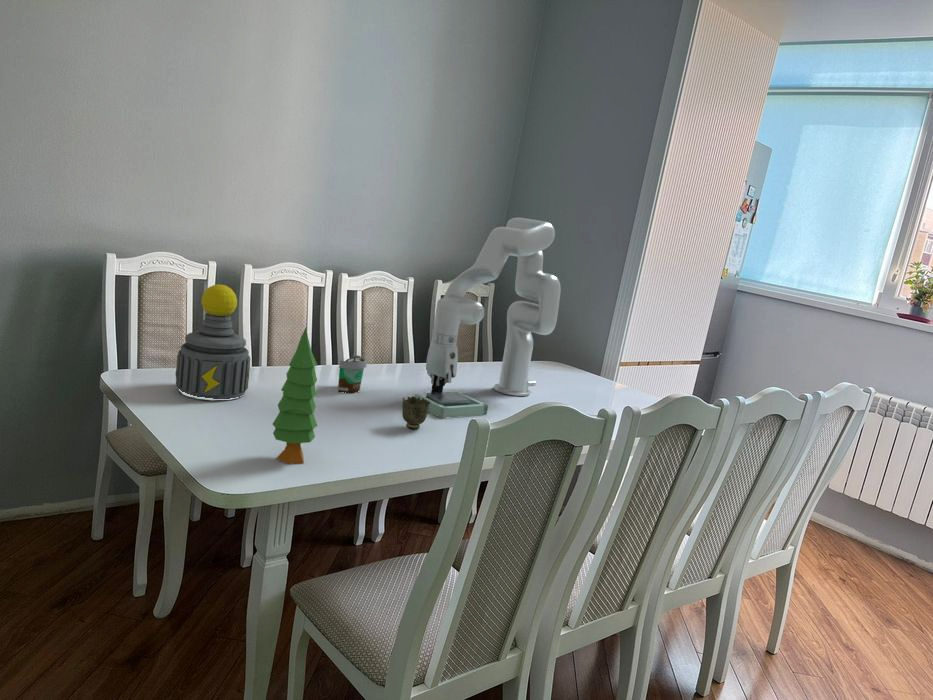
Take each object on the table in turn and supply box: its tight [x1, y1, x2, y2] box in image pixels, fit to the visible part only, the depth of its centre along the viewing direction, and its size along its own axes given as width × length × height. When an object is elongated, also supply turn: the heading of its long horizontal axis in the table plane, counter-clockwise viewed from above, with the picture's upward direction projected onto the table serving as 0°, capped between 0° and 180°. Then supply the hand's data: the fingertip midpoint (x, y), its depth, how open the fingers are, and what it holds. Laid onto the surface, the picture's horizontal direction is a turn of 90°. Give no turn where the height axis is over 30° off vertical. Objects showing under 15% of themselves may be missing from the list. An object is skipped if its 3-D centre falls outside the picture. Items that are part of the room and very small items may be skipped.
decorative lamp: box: [175, 284, 251, 399], centre depth 199 cm, size 19×19×30 cm
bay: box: [413, 391, 489, 419], centre depth 221 cm, size 17×14×3 cm
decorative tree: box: [272, 327, 318, 465], centre depth 160 cm, size 10×9×30 cm
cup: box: [401, 395, 430, 431], centre depth 196 cm, size 8×7×8 cm
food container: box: [337, 354, 368, 394], centre depth 225 cm, size 12×6×10 cm, turn 168°
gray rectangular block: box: [425, 391, 470, 407], centre depth 220 cm, size 10×8×4 cm
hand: (436, 397), depth 227 cm, fingers closed
